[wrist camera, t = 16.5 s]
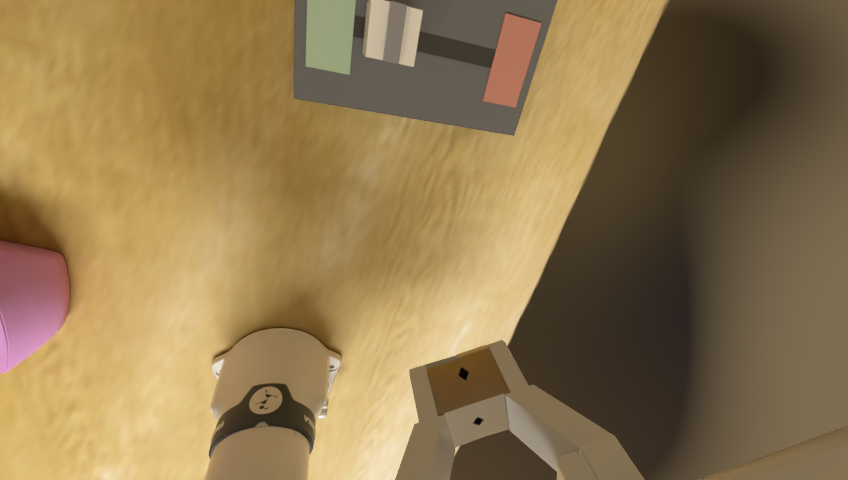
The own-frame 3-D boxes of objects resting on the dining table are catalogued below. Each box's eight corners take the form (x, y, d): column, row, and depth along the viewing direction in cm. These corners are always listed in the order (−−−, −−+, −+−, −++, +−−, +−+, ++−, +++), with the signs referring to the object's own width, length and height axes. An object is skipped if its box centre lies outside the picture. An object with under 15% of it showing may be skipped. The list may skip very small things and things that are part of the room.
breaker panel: (503, 129, 42) (514, 136, 39) (297, 93, 35) (293, 98, 32) (544, -8, 35) (561, -11, 32) (299, -84, 28) (295, -97, 26)
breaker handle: (404, 62, 32) (415, 67, 27) (362, 53, 31) (366, 57, 26) (411, 13, 30) (425, 9, 25) (367, 2, 29) (372, -5, 24)
